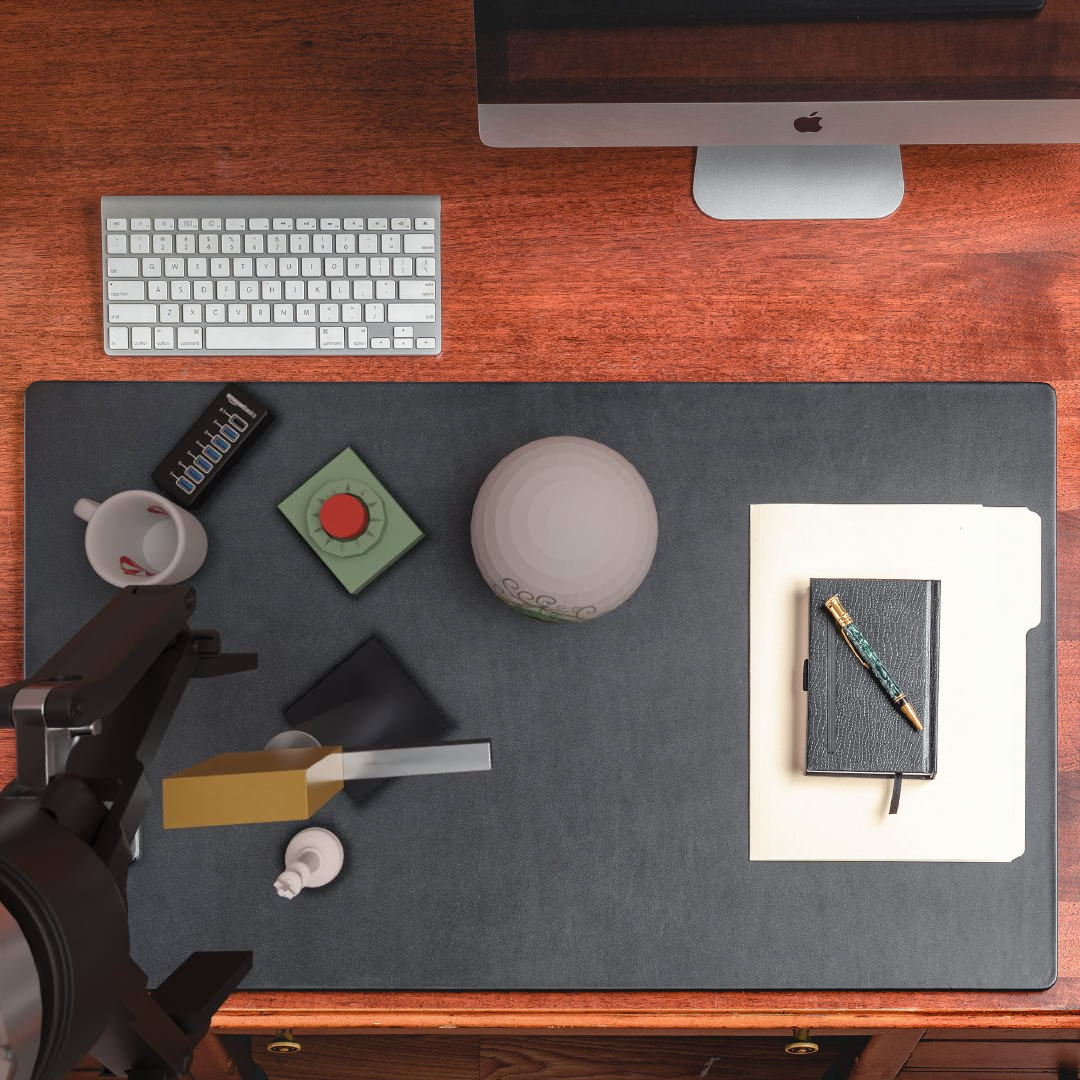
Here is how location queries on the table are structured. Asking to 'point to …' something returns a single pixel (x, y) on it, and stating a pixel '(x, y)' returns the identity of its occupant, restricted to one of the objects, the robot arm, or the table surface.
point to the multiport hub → (212, 446)
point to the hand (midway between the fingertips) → (226, 807)
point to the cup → (142, 539)
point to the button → (343, 516)
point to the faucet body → (362, 711)
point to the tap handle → (301, 779)
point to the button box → (381, 536)
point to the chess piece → (310, 861)
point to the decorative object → (564, 529)
